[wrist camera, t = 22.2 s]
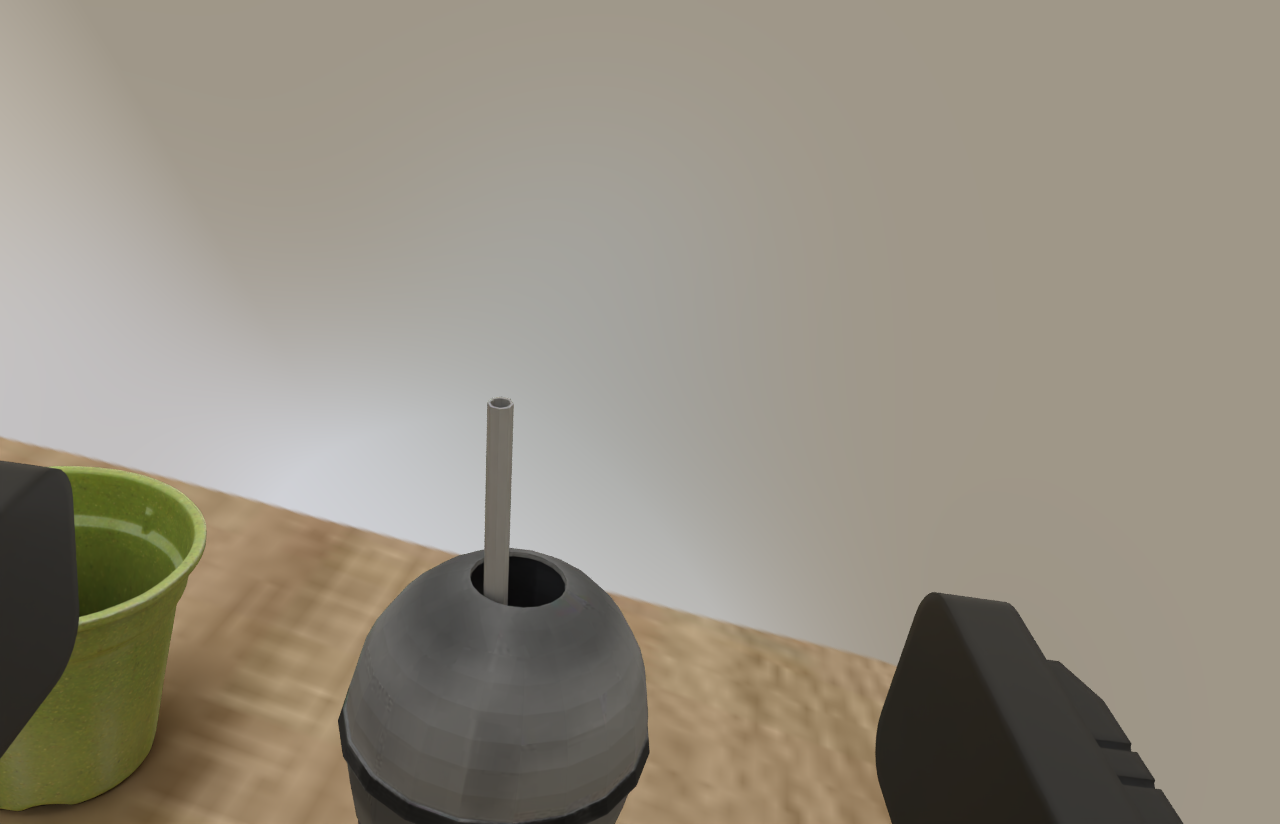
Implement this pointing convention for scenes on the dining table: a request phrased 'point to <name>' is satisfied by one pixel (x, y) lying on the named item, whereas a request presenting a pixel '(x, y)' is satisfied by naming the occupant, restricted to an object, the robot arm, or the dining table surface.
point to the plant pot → (109, 640)
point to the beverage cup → (497, 687)
